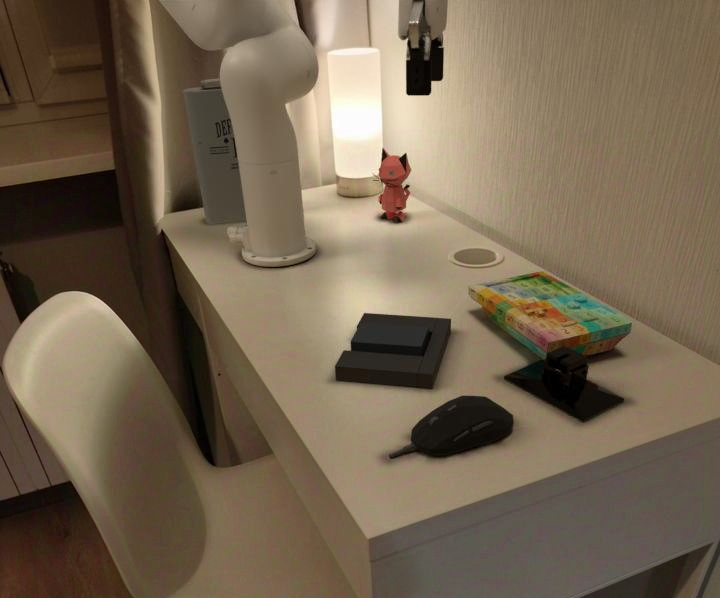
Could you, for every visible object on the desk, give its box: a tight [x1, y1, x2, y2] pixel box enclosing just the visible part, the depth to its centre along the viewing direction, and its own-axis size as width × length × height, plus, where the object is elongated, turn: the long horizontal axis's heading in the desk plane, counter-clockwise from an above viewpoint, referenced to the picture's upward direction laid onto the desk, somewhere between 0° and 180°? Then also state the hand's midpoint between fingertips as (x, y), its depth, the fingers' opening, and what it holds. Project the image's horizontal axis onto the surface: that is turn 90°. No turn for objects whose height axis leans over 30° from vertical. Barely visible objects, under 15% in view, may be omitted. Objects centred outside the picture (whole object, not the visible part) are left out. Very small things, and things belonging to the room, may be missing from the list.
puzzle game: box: [468, 270, 633, 360], centre depth 95 cm, size 12×5×20 cm
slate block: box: [350, 322, 429, 357], centre depth 93 cm, size 6×9×3 cm, turn 76°
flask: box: [182, 77, 247, 225], centre depth 132 cm, size 17×5×25 cm, turn 103°
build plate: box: [503, 346, 625, 423], centre depth 84 cm, size 12×7×5 cm, turn 35°
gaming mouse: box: [388, 395, 515, 459], centre depth 77 cm, size 6×15×4 cm, turn 116°
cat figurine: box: [372, 147, 412, 224], centre depth 131 cm, size 7×7×12 cm
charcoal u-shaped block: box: [334, 312, 452, 389], centre depth 93 cm, size 15×12×2 cm
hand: (425, 87), depth 97 cm, fingers open, 9 cm apart
